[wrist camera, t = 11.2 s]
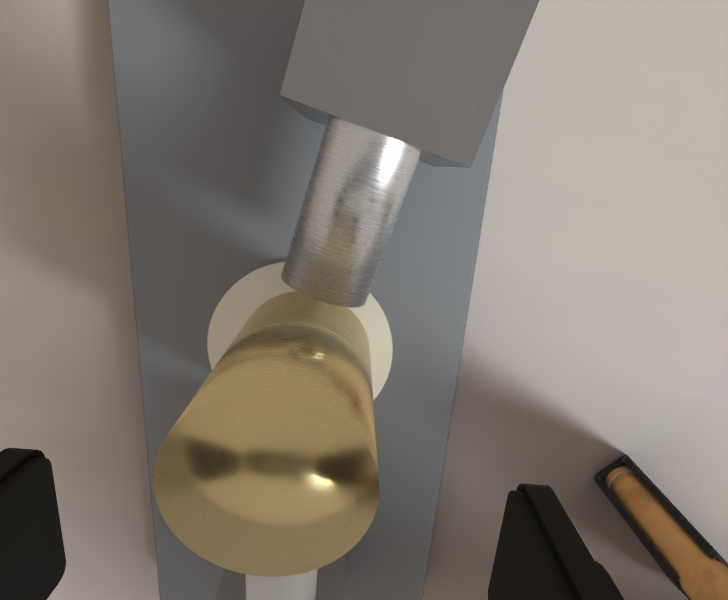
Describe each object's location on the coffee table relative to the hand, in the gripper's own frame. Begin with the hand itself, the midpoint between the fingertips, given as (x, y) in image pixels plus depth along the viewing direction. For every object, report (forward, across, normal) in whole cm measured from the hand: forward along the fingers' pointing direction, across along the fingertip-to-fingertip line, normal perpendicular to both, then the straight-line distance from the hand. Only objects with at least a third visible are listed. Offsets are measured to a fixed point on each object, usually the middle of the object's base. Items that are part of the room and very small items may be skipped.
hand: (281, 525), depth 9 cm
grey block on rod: (+8, -1, -8) cm, 11 cm away
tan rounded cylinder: (+7, +1, 0) cm, 8 cm away
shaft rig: (+9, +1, -1) cm, 9 cm away
